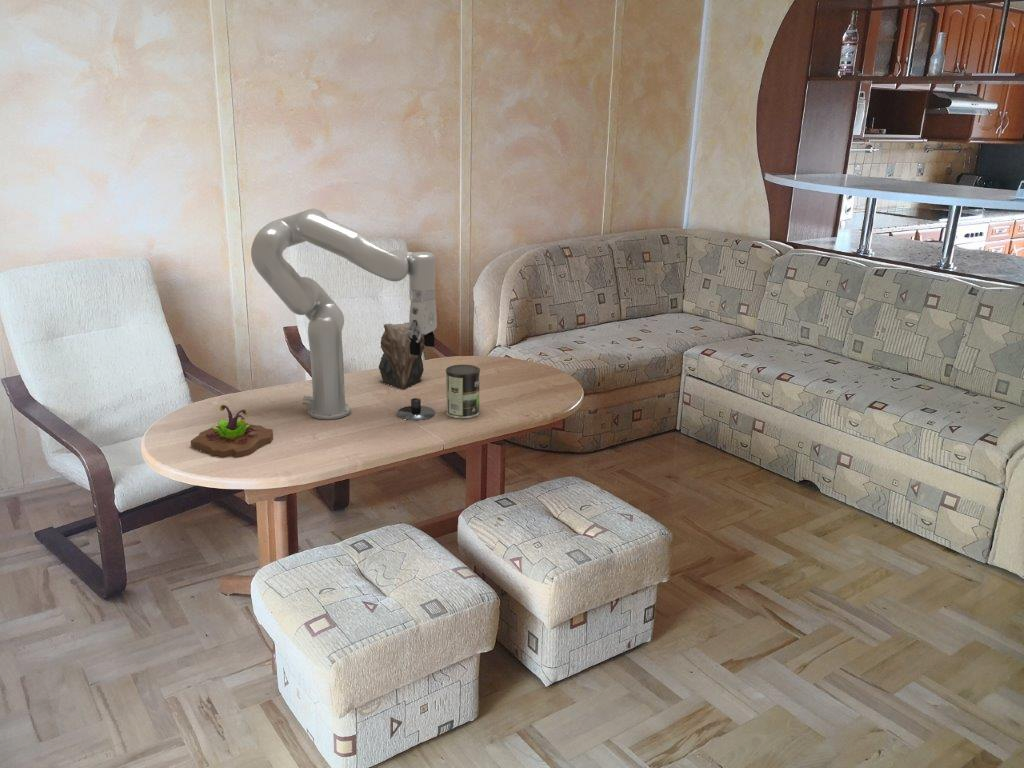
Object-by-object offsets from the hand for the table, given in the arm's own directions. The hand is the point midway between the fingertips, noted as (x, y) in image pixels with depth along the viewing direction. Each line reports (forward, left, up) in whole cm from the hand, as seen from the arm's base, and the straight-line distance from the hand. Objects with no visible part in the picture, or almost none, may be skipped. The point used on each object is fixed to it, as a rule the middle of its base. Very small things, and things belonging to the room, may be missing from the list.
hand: (422, 350), depth 255 cm
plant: (-40, -41, -20) cm, 60 cm away
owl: (-17, +22, -20) cm, 34 cm away
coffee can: (+12, +3, -20) cm, 23 cm away
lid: (-1, -3, -20) cm, 20 cm away
